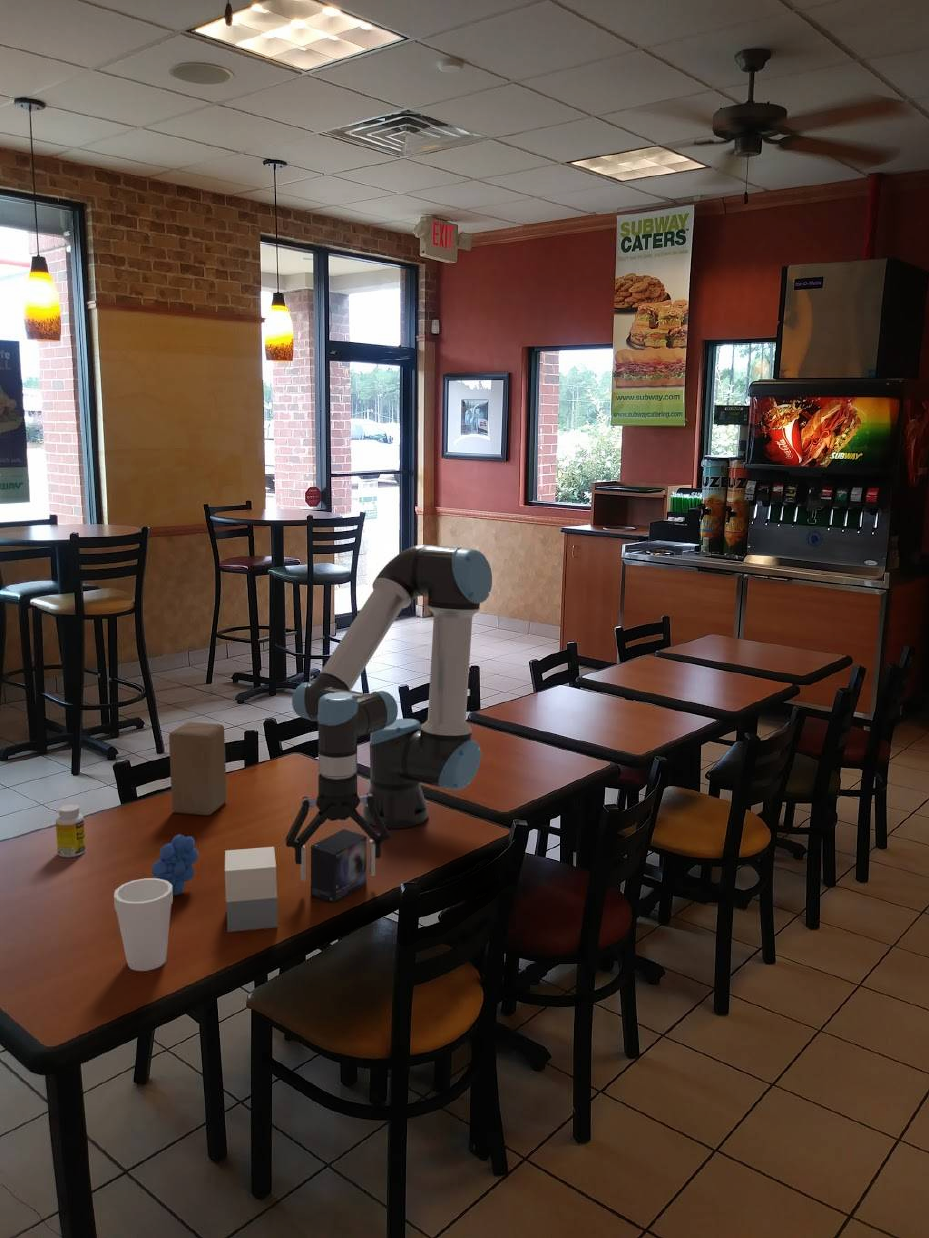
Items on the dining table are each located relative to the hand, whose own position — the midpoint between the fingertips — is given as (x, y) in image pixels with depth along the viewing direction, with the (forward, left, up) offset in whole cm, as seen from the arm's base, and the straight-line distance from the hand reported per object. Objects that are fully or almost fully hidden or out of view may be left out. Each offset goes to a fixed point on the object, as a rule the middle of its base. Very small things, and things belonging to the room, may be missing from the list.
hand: (338, 875), depth 195 cm
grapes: (+32, -5, -3) cm, 32 cm away
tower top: (+17, +8, +3) cm, 19 cm away
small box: (0, 0, -3) cm, 3 cm away
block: (+28, -50, -3) cm, 58 cm away
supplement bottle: (+54, -29, -3) cm, 61 cm away
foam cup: (+35, +20, -3) cm, 40 cm away
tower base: (+17, +8, -3) cm, 19 cm away
